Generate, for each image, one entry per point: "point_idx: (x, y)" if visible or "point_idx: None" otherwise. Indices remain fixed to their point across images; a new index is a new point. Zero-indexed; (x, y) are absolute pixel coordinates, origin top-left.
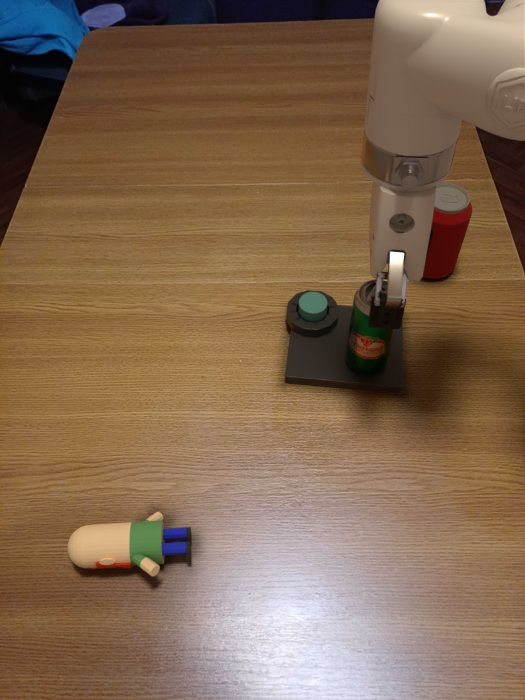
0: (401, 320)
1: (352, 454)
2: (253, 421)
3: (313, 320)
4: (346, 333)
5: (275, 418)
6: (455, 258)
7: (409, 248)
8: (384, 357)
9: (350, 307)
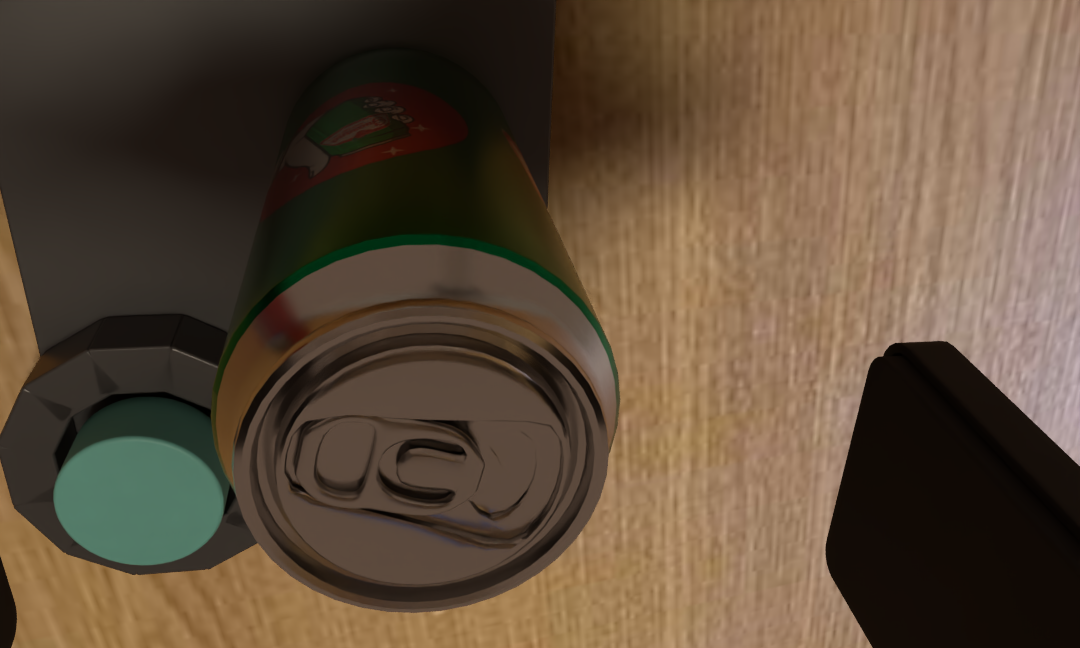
0: (1004, 404)
1: (862, 168)
2: (705, 522)
3: None
4: (233, 263)
5: (692, 459)
6: None
7: None
8: (492, 113)
9: (27, 256)
